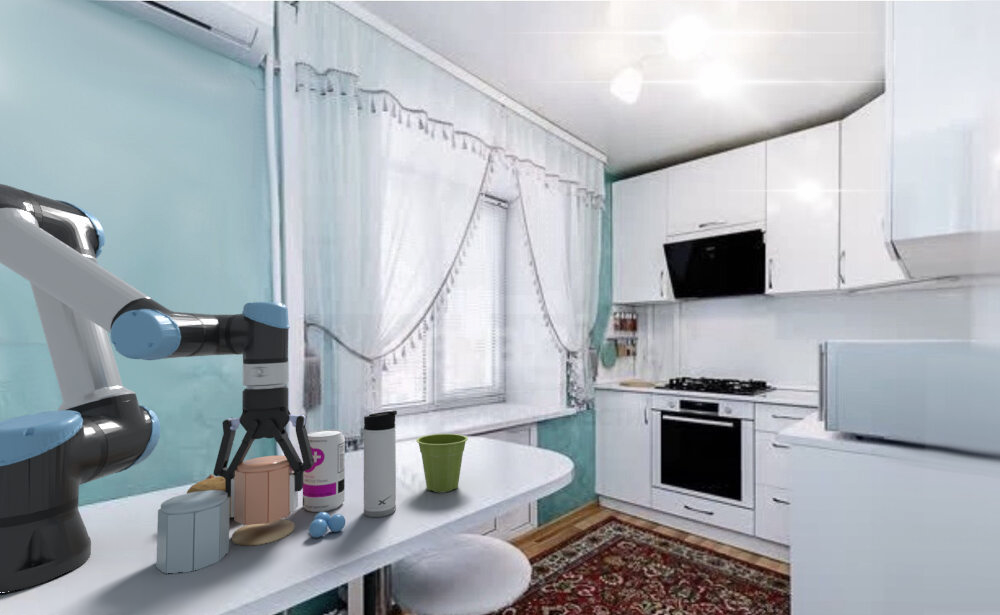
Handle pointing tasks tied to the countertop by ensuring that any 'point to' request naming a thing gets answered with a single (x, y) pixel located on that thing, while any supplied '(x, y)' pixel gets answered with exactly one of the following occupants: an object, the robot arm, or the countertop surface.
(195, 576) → the countertop surface
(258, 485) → the peach domed octagonal part
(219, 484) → the potato
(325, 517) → the marble
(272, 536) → the coaster
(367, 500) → the travel mug
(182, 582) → the countertop surface
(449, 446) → the plant pot
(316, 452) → the supplement can
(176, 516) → the grey domed faceted canister
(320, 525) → the marble
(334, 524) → the marble
